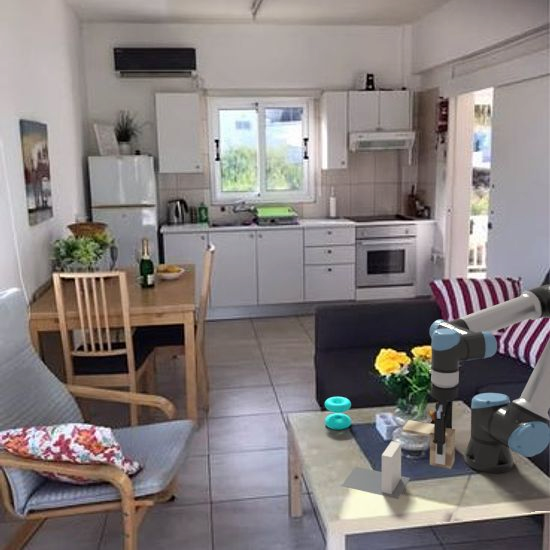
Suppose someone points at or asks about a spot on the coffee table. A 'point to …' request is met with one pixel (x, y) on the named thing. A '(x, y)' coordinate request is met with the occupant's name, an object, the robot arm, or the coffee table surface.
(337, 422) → the donuts
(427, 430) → the wooden bridge
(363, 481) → the board
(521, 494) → the coffee table surface
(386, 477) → the tile
